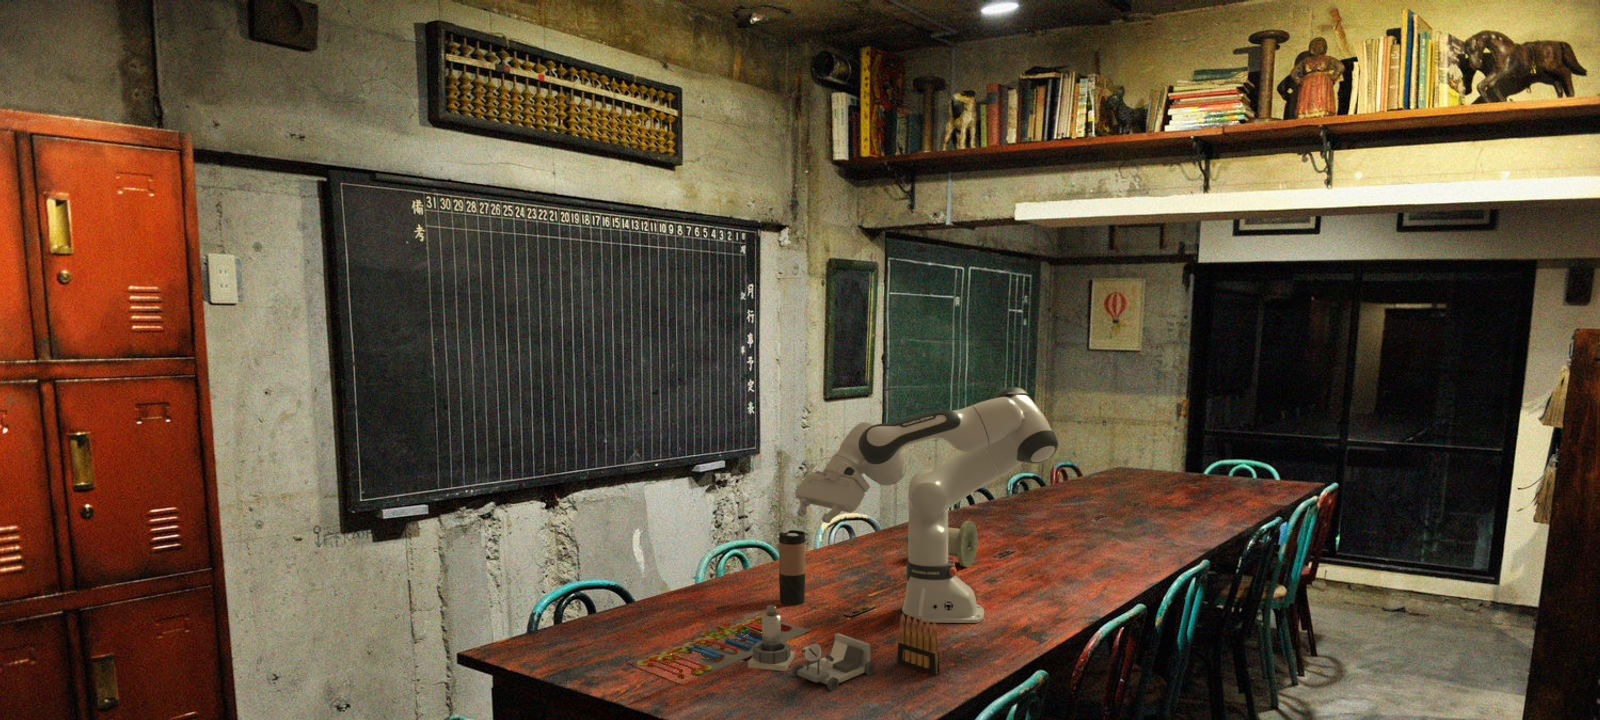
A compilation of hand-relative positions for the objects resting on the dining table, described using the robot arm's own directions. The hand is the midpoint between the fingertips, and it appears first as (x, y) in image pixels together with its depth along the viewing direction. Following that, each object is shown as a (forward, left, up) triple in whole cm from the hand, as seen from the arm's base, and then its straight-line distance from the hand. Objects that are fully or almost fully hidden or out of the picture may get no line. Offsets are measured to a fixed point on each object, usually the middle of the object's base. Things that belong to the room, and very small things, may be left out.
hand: (812, 518), depth 211 cm
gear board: (+21, +7, -32) cm, 39 cm away
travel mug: (+13, -31, -32) cm, 46 cm away
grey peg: (+7, +15, -30) cm, 34 cm away
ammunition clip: (-27, +10, -32) cm, 43 cm away
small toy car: (-8, +19, -32) cm, 38 cm away
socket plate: (+7, +14, -31) cm, 35 cm away
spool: (-28, -84, -32) cm, 94 cm away
